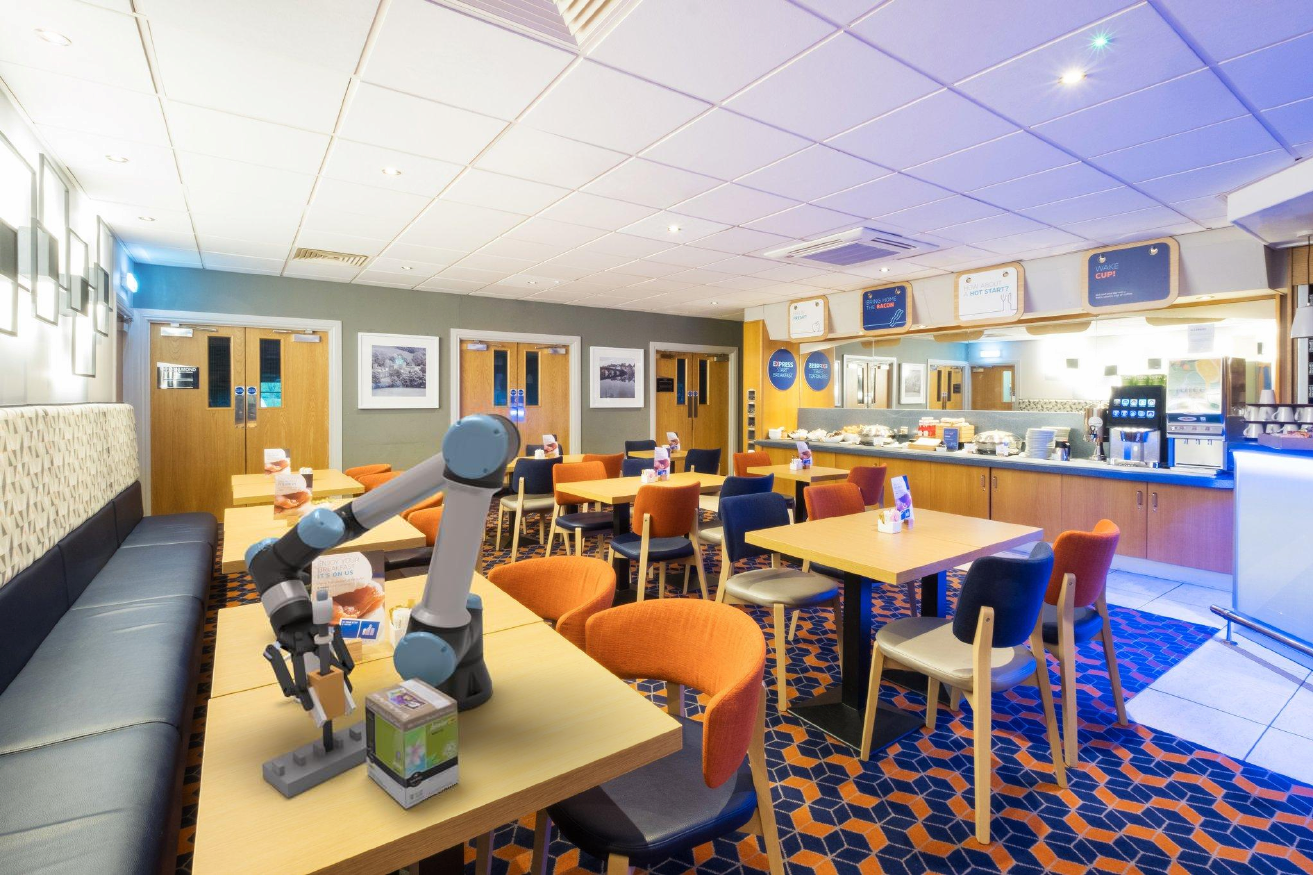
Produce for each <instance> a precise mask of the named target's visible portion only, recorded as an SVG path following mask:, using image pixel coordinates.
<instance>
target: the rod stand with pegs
mask: <svg viewBox="0 0 1313 875" xmlns="http://www.w3.org/2000/svg"><path fill="white" fill-rule="evenodd" d="M328 590H329V589H320V590H317V591H316V597H315V598H313V599H311V602H312V607H313V623H314V624H318V629H319V634H318V635H316V636H315V637H314V641H315V644H319V654H320V676H324V675H327V674H330V652H329V642H331V641H333V633H329V627H330V626H329V623H330V622H332V621H334V606H333V604H334V602H333V597H332V596H330V595H329V591H328ZM321 728H322V737H320V738H318V739H317V740H314V741H312V742H309V743H307V744H305V745H302V746H300V747H298V748H296V749H293V750H291V751H287V753H284V754H281V755H280V756H276V757H274V758H272V759H269V760H268V761H266V762H265V761H264V762H262V764H261V765H262V768H261V769H262V778H263V779H264V780H265V781H266V782H268V783H269V784H270V785H271V786H272V785H273V787H274V788H275V789H276V790H277V791H278V792H279V793H281V794H282V795H284V797H285V798H287V799H291V798H294V797H295V796H297V795H299V794H301V793H303V792H305V791H308V790H309V789H311V788H313V787H316V786H317V785H319V784H322V783H324V782H325V781H327V780H329V779H332V778H333V777H336V776H338V775H340V774H342V773H344V772H345V771H348V770H351V769H353V768H354V767H356V766H358V765H360V764H363V763H366V762H367V748H366V721H364V720H360V721H357V722H356V723H354V724H351V725H349V726H347V727H344V728H342V729H340V730H338V731H335V732H334V730H333V719H331V720H329V721H326V722H325V723H324V725H323V726H322V727H321Z"/></svg>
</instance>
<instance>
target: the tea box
mask: <svg viewBox="0 0 1313 875" xmlns="http://www.w3.org/2000/svg"><path fill="white" fill-rule="evenodd" d="M364 696H365V697H364V698H365V700H364V702H365V703H364V709H365V711H364V712H365V722H366V748H367V761H366V773H367V775H368V776H369V777H370V778H371V779H372V780H373V781H375V782H376V783H377V784H378V785H379V786H380V787H381V788H382V789H384V791H386V792H387V793H388V794H389V795H390V796H391V797H392V798H394V799H395V801H396V802H398V803H399V804H400V805H401V806H402V807H403V808H404V809H407V810H408V809H409V808H411V807H414V806H415V805H418V804H420V803H422V802H424V801H426V800H428V799H429V798H428V797H430V796H432V795H434V794H436V795H438V794H439V793H438V792H440V791H441V792H443V791H445V790H446V789H445V788H447V789H449V788H451V787H453V786H455V785H456V783H457V784H458V783H459V742H458V741H459V738H458V737H459V736H458V735H459V734H458V733H459V732H458V730H459V729H458V728H459V727H458V712H457V701H456V700H454V699H453V698H451V697H449V696H448V695H446V694H444V693H442V692H441V691H439V690H437V689H435V688H434V687H432V686H430V685H428V684H427V683H425V682H423V681H421V680H419V679H418V678H413V679H410V680H407V681H403V682H399V683H396V684H394V685H390V686H388V687H385V688H382V689H379V690H376V691H373V692H370V693H367V694H365V695H364ZM454 784H455V785H454ZM452 785H453V786H452ZM450 786H451V787H450ZM448 787H449V788H448ZM444 789H445V790H444ZM442 790H443V791H442ZM441 792H440V793H441ZM434 796H435V795H434ZM432 797H433V796H432ZM427 798H428V799H427ZM430 798H431V797H430ZM425 799H426V800H425ZM423 800H424V801H423ZM421 801H422V802H421Z"/></svg>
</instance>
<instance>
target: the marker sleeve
mask: <svg viewBox="0 0 1313 875" xmlns="http://www.w3.org/2000/svg"><path fill="white" fill-rule="evenodd" d="M307 685H308V689H309V688H311V687H314V690H315V692H316V694H317V697H318V699H319V701H320V704H321V706H322V708H323V711H324V713H325V715H326V718H327V720H326V721H329V720H331V719H332V720H333V719H336V718H338V717H341V716H342V715H345V714H346V712H345V697H344V671H342V670H340V669H338V668H336V667H334V666H332V665H331V666H330V674H327V675H324V676H320V669H319V670H316V671H313V672H310V673H307ZM308 717H309V718H310V719H312V720H313V721H315V720H314V717H313V715H312V713H311V710H309V711H308ZM326 721H325V722H326Z"/></svg>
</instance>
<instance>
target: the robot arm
mask: <svg viewBox="0 0 1313 875" xmlns="http://www.w3.org/2000/svg"><path fill="white" fill-rule="evenodd" d="M441 445H442V446H441V451H440V452H438V453H437V454H435V455H433V456H431V457H429V458H427V459H426V460H424V461H422V462H420V463H419V464H417V465H415V466H413V467H411V468H409V469H408V470H406V471H404V472H402V473H399V474H398V475H397V476H395V477H393V478H391V479H389V480H388V481H386V482H384V483H382V484H380V485H379V486H377V487H375V488H373V489H371V490H369V491H368V492H366V493H363V494H362V495H360V496H358V497H356V498H355V499H353V500H351V501H349V502H347V503H345V504H343V505H342V506H339V507H338V508H336V509H334V510H331V509H328V508H323V507H318V508H315V509H314V510H312V511H310V513H308V514H307V515H304V516H303V517H302V518H301V519H300V520H299V522H297V523H296V524H295V525H294V526H293V527H292V528H290V529H289V530H288V531H287V532H286V533H285V534H284V535H283V536H281V537H267V538H262V539H261V540H260V541H259V542H255V543H253V544H251V545H250V546H249V547H248V548H247V550H246V551H245V552H244V562H245V565H246V568H247V573H248V575H249V576H250V578H251V580H252V582H253V585H254V586H255V589H256V591H257V593H258V596H259V599H260V601H261V605H262V607H263V608H264V612H265V614H266V616H267V617H268V618H269V623H270V626H271V628H272V630H273V633H274V636H275V637H276V641H275V642H273V644H271V643H270V644H267V645H266V647H265V649H264V651H263V653H262V656H263V657H264V658H265V659H266V660H267V661H268V662H269V663H270V665H271V667H272V670H273V672H274V674H275V678H276V677H277V678H276V680H277V679H278V681H277V683H278V684H279V686H280V688H281V691H282V693H283V695H284V697H285V698H290V697H292V696H293V697H294V696H295V697H296V698H297V699H300V701H301V703H300V704H301V705H302V708H303V710H304V711H305V712H309V710H311V713H312V715H313V717H314V720H313V721H314V722H315V724H316V726H317V729H320V728H322V726H323V725H324V723H325V721H326V720H327V718H326V715H325V713H324V711H323V708H322V706H321V704H320V701H319V699H318V697H317V694H316V692H315V690H314V687H311V688H309V689H307V687H308V685H307V677H306V670H305V663H304V654H305V653H307V652H312V653H313V654H314V655H315V656H317V657H318V658H319V659H320V654H319V644H315V641H314V637H315V636H316V635H318V634H319V629H318V624H314V623H313V607H312V600H311V601H310V597H309V594H308V592H307V590H306V588H305V586H304V584H303V582H302V579H301V577H300V574H299V573H300V571H302V572H303V570H305V569H306V568H307V567H308V566H309V565H311V563H313V562H314V561H315V560H316V559H318V558H319V557H320V556H321V555H323V554H324V553H326V552H329V551H331V550H333V549H335V548H337V547H340V546H342V545H343V544H346V543H348V542H351V541H355V540H357V539H358V538H361V537H362V536H363V535H364V534H366V533H367V532H369V531H371V530H372V529H374V528H376V527H378V526H380V525H382V524H383V523H385V522H387V521H389V520H391V519H393V518H395V517H396V516H398V515H400V514H402V513H404V512H405V511H407V510H409V509H412V508H413V507H414V506H417V505H418V504H420V503H422V502H424V501H426V500H428V499H429V498H431V497H433V496H435V495H436V494H439V493H442V491H444V490H445V489H447V490H446V494H445V498H444V503H443V507H442V512H441V516H440V520H439V521H440V522H439V524H438V529H437V533H436V536H435V541H434V546H433V551H432V555H431V560H430V562H429V568H428V572H427V577H426V580H425V585H424V589H423V594H422V597H421V601H420V602H418V603H416V604H415V605H413V607H412V608H411V610H410V614H409V617H408V622H407V627H406V631H405V633H404V636H403V637H401V638H400V639H399V641H398V642H397V643H396V644H397V645H396V646H395V648H394V651H393V655H392V656H393V657H392V660H393V665H394V668H395V671H396V672H397V674H398V675H399V676H400V678H401V679H402V680H403V682H405V681H407V680H410V679H413V678H418V679H419V680H421V681H423V682H425V683H427V684H428V685H430V686H432V687H434V688H435V689H437V690H439V691H441V692H442V693H444V694H446V695H448V696H449V697H451V698H453V699H454V700H456V701H457V713H459V712H463V711H467V710H470V709H473V708H476V707H478V706H481V705H482V704H484V703H485V702H487V701H488V700H489V699H490V698H491V696H493V680H492V678H491V675H490V672H489V670H488V668H487V664H486V661H485V660H484V659H485V658H484V622H483V620H484V619H483V616H484V615H483V611H484V607H483V600H482V598H481V596H480V595H478V594H476V593H470V590H471V586H472V583H473V580H474V579H473V577H474V574H475V570H476V565H477V560H478V558H479V553H480V548H481V545H482V540H483V536H484V532H485V528H486V523H487V519H488V514H489V510H490V506H491V502H492V498H493V495H494V494H495V493H497V492H499V491H501V490H502V489H503V486H504V481H505V478H506V473H507V469H508V465H509V464H512V462H514V461H515V459H516V458H517V456H518V455H519V452H520V451H521V446H522V437H521V432H520V430H519V428H518V427H517V425H516V424H515V423H514V421H513V420H511V419H510V418H508V417H506V416H504V415H501V414H497V413H488V414H480V413H477V414H476V413H475V414H471V415H470V414H469V415H467V416H465V417H463V418H460V419H458V420H457V421H455V422H454V423H453V424H452V425H451V426H450V427H449V428H448V429H447V431H446V433H445V435H444V436H443V438H442V443H441ZM329 633H333V641H331V644H332V646H333V649H334V653H335V656H334V654H333V653H332V652H331V651H330V649H329V652H330V666H331V665H332V666H334V667H336V668H338V669H340V670H342V671H344V697H345V714H346V716H351V715H352V714H353V713H354V711H355V709H356V708H357V706H356V704H355V701H354V700H353V697H352V692H353V690H354V689H353V688H354V687H353V686H352V683H351V681H350V679H349V676H350V675H351V674H352V672H353V670H354V669H355V666H356V665H355V663H354V660H353V658H352V655H351V654H350V651H349V648H348V647H347V644H346V642H345V640H344V637H343V636H342V625H341V624H339V623H336V624H335V625H334V626H329ZM281 650H283V651H284V652H285V651H286V652H287V653H288V654H291V658H290V660H291V664H292V668H293V669H292V670H293V671H292V672H293V676H292V675H291V672H290V670H289V668H288V666H287V664H286V661H284V659H283V658H284V656H283V654H282V653H281ZM293 677H294V678H293ZM294 683H295V684H294ZM489 697H490V698H489ZM480 704H481V705H480Z"/></svg>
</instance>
